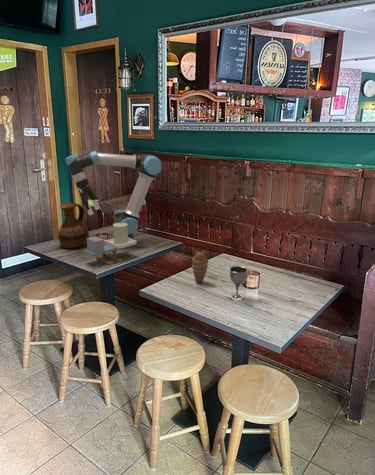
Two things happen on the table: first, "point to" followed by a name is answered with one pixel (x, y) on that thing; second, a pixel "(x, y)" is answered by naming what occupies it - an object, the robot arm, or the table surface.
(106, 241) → the balance beam
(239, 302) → the table surface
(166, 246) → the table surface
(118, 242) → the can
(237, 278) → the wine glass
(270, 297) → the table surface
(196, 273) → the brown tapered upright piece
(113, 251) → the pivot stand
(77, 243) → the ceramic pitcher
